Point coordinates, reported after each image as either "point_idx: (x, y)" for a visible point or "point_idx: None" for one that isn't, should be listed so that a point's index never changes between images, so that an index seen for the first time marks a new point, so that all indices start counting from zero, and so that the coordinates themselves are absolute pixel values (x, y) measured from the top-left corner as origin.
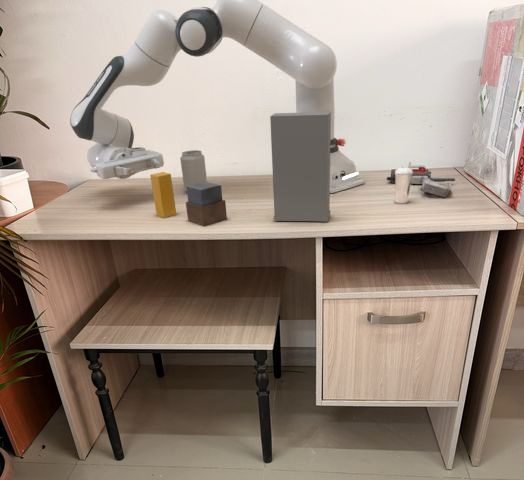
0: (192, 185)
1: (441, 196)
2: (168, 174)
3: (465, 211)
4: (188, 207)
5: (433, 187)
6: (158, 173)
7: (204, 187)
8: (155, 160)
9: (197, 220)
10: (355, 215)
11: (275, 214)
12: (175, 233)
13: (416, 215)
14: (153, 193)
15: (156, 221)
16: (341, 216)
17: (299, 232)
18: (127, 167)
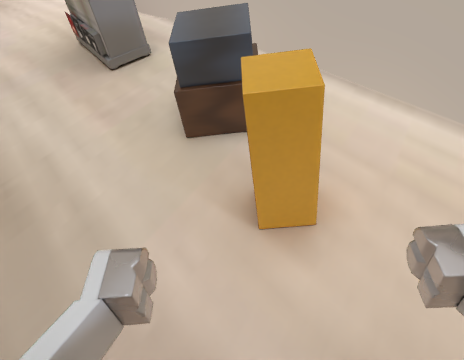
0: (230, 31)
1: None
2: (253, 56)
3: (3, 5)
4: None
5: None
6: (278, 82)
7: (223, 11)
8: (73, 311)
9: None
10: (62, 32)
11: (145, 40)
12: (338, 84)
13: (36, 12)
14: (319, 158)
15: (345, 171)
16: (75, 36)
17: (173, 21)
18: (443, 256)
